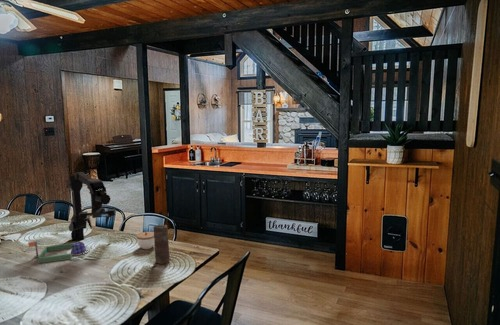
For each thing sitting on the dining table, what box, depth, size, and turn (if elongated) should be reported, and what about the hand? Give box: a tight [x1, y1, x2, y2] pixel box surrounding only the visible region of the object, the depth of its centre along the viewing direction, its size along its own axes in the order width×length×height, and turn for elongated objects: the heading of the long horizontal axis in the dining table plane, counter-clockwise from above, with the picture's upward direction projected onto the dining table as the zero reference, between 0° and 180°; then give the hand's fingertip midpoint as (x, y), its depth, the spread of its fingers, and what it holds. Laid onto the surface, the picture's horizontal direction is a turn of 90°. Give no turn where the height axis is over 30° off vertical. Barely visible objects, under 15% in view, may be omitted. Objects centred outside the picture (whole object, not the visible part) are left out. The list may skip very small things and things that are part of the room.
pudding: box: [66, 241, 91, 256], centre depth 197 cm, size 12×12×5 cm
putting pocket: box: [27, 241, 75, 264], centre depth 192 cm, size 21×18×9 cm
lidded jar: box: [136, 231, 155, 250], centre depth 203 cm, size 11×11×9 cm
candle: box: [152, 224, 171, 265], centre depth 182 cm, size 8×7×20 cm
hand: (98, 228), depth 200 cm, fingers open, 7 cm apart
